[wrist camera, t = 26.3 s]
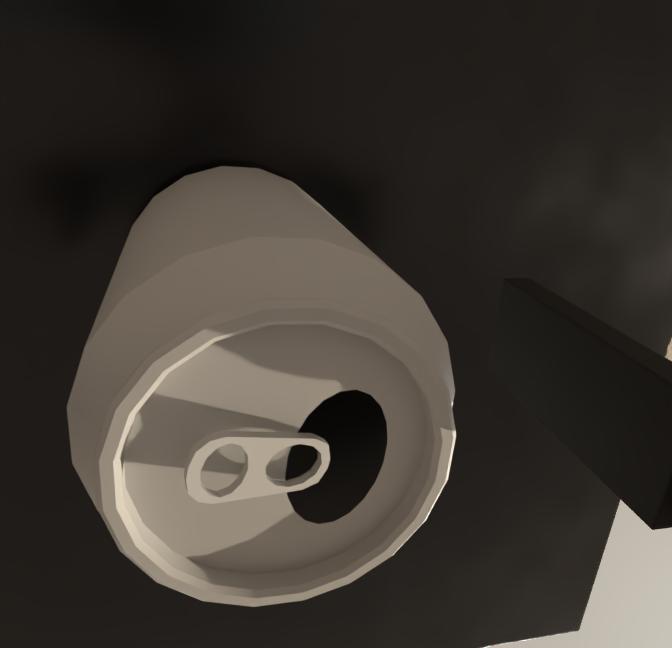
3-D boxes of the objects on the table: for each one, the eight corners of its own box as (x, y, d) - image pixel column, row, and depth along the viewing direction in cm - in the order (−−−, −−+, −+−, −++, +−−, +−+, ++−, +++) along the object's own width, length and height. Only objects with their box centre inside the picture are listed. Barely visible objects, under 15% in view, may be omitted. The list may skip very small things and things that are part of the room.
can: (312, 375, 23) (426, 638, 12) (112, 352, 20) (28, 650, 10) (359, 188, 20) (556, 304, 9) (138, 138, 18) (66, 217, 7)
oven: (-126, -14, 35) (-749, -207, 12) (469, 49, 45) (775, 12, 21) (-38, 433, 47) (-261, 778, 24) (417, 406, 57) (579, 631, 33)
